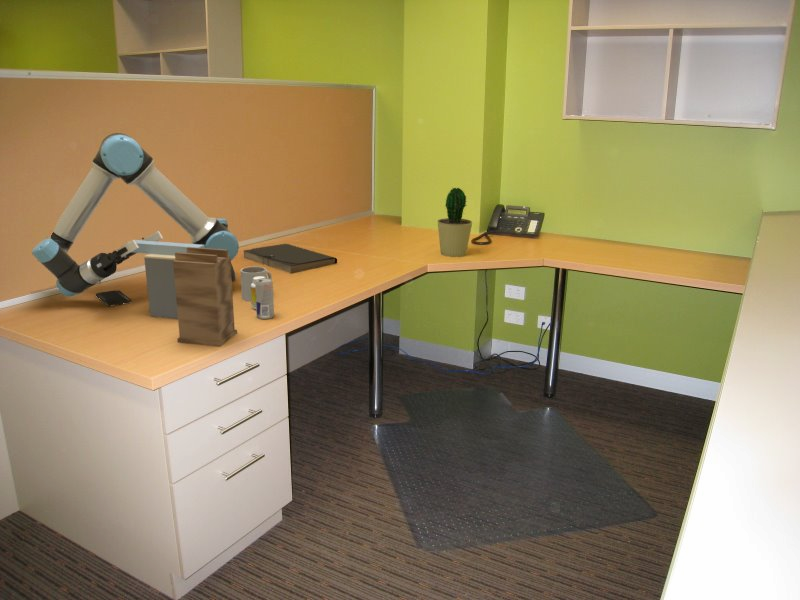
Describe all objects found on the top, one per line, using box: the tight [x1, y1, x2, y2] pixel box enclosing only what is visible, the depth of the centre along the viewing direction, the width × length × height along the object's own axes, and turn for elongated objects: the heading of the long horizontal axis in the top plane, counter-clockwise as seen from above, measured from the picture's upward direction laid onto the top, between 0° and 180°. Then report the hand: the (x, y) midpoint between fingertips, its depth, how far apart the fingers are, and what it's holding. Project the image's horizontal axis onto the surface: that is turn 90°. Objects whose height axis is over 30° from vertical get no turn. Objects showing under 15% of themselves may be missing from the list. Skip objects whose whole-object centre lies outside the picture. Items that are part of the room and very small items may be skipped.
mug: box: [240, 266, 273, 303], centre depth 224 cm, size 12×9×10 cm
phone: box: [95, 289, 132, 307], centre depth 220 cm, size 8×1×15 cm
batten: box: [125, 239, 205, 256], centre depth 201 cm, size 4×24×3 cm, turn 79°
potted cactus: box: [437, 187, 473, 258], centre depth 286 cm, size 15×15×30 cm
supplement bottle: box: [251, 276, 265, 311], centre depth 213 cm, size 6×6×10 cm
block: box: [143, 254, 178, 320], centre depth 204 cm, size 10×12×20 cm
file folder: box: [243, 243, 338, 274], centre depth 273 cm, size 33×4×24 cm
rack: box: [173, 247, 238, 347], centre depth 184 cm, size 11×13×26 cm
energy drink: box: [255, 277, 275, 320], centre depth 204 cm, size 5×5×12 cm
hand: (148, 238), depth 201 cm, fingers open, 13 cm apart
